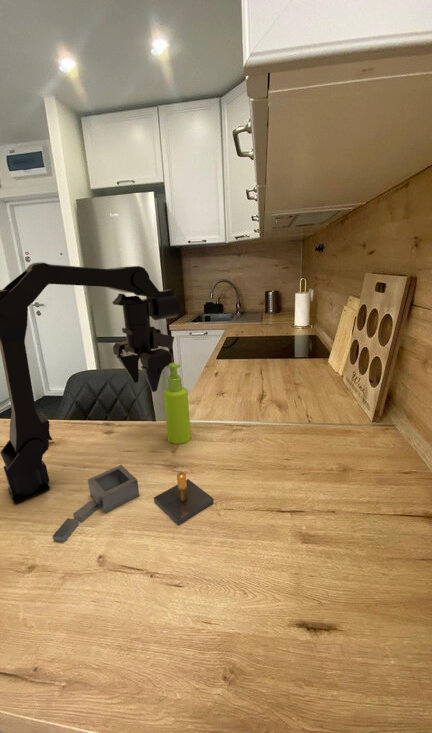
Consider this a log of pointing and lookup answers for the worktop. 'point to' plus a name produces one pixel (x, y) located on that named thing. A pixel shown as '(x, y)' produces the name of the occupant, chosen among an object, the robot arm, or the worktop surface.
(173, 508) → the keeper
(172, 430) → the soap dispenser
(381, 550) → the worktop surface
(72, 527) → the wood sided gray block
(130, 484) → the hollow square frame
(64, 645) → the worktop surface
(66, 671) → the worktop surface
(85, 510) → the grey topped wooden tile
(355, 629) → the worktop surface
